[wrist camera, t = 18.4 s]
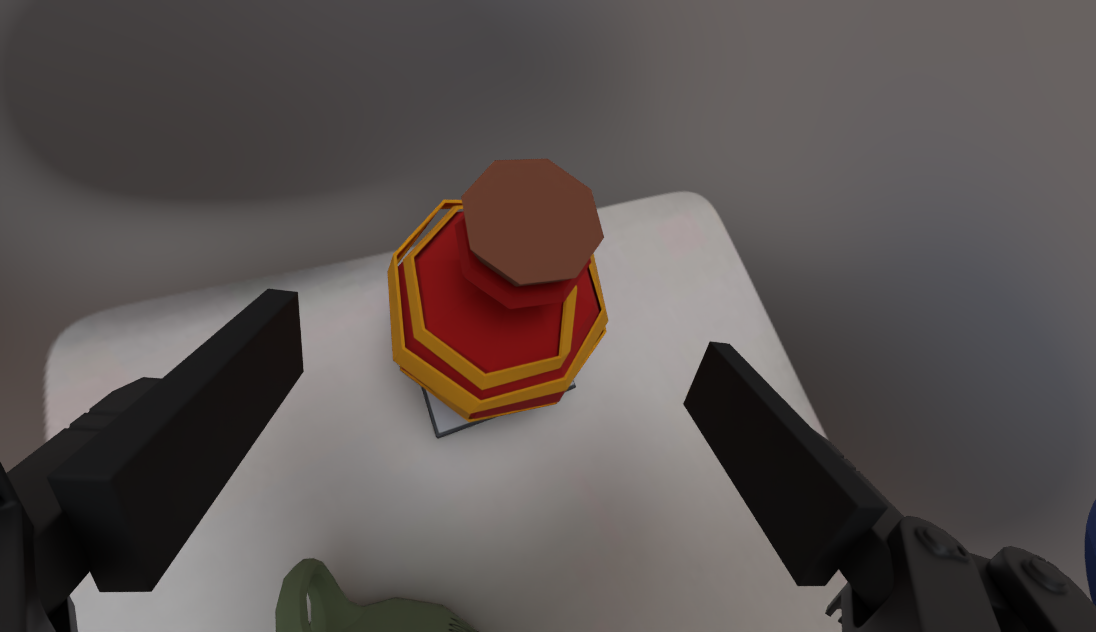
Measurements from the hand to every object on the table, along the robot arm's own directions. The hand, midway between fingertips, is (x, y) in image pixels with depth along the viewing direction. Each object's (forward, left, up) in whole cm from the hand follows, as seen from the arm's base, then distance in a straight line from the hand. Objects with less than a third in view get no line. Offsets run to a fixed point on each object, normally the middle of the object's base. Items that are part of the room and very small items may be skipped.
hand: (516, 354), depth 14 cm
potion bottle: (0, -3, -12) cm, 13 cm away
